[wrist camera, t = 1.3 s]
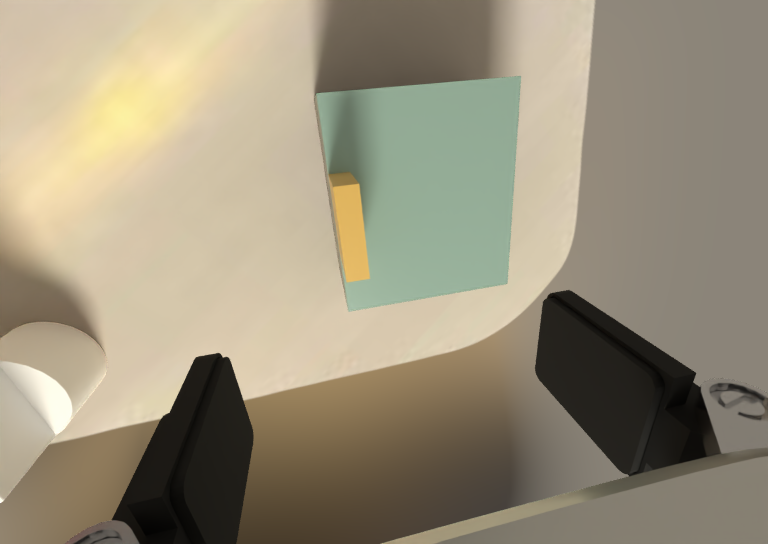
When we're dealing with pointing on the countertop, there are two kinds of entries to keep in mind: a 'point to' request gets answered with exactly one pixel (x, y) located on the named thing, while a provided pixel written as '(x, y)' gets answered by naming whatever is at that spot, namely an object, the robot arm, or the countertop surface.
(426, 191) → the door
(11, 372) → the cylinder with rectangular tab
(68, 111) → the countertop surface
